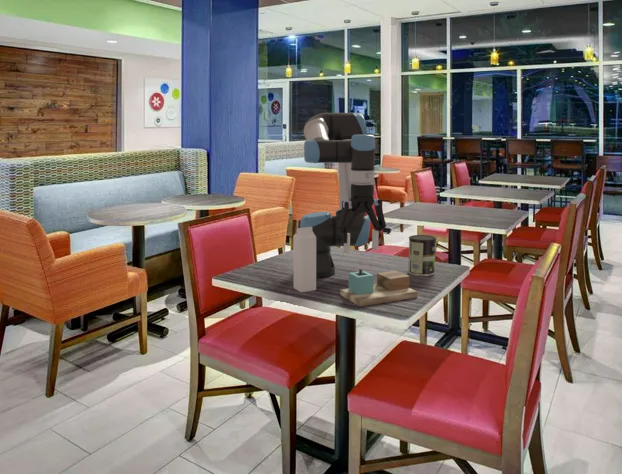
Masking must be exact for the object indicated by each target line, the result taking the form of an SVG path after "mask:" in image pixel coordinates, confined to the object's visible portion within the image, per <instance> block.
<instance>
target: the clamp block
mask: <svg viewBox="0 0 622 474" xmlns="http://www.w3.org/2000/svg"><path fill="white" fill-rule="evenodd" d="M410 278H411V275H407V274H406V273H403V272H400V271H398V270H391V271H384V272H377V273H376V284H377V285H379V286H381V287H383V288H385V289H387V290H397V289H403V288H410V286H411V285H410V284H411V283H410V282H411V281H410V280H411V279H410Z"/></svg>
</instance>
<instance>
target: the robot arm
mask: <svg viewBox="0 0 622 474" xmlns="http://www.w3.org/2000/svg"><path fill="white" fill-rule="evenodd" d="M366 124H367V123H366V120H365V117H364V115H363V114H362V113H359V112H322V113H318V114H315V115H314V116H312V117H310V118H309V119H308V120H307V121H306V122H305V125H304V126H303V136H304V138H305V141H304V143H303V157H304V158H303V159H304V162H305V163H309V164H330V163H331V164H334V163H335V164H337V166H338V168H337V169H338V196H339V197H338V199H339V202H338V203H339V207H338V209H336V211H335V215H332V213H331V212H330V211H317V212H312V213H307V214H304V215H303V216H302V217H301V218H300V225H299V226H300V227H299V228H304V227H312V231H313V233H314V234H315V236H316V278H325V277H329V276H333V275H334V274H336V273H335V272H336V266H335V263H334V260H333V257H332V253H331V252H332V251H331V247H343V252H344V253H346V254H350V253H351V247H361V246H366V244H367V243H368V241H369V237H370V231H371V224H372V226H373V228H374V229H372V231H371V234H372V235H371V239H372V240H371V249H372V250H373V251H379V240H381V231H383V229H385V228H386V227H387V224H386V219H385V215H384V211H383V207H382V204H383V200H382V199H380V198H374V195H375V185H374V184H373V183H374V182H375V161H376V159H375V158H376V157H375V156H376V155H375V154H376V148H377V147H376V146H377V145H376V137H375V136H374V135H373V134H367V125H366ZM373 205H374V209H375V210H374V209H373V207H372V206H373Z"/></svg>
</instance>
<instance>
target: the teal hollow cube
mask: <svg viewBox="0 0 622 474" xmlns="http://www.w3.org/2000/svg"><path fill="white" fill-rule="evenodd" d="M358 273H359V271H355V272H349V273H348V288H349V291H351V292H353V293H355V294H357V295H362V294H368V293H373V288H374V285H375V284H374V283H375V282H374V281H375V279H374V278H375V275H374V274H372V273H370V272H368V271H366V270H362V273H363V275H362V276H359V275H358Z"/></svg>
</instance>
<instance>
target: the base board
mask: <svg viewBox="0 0 622 474" xmlns="http://www.w3.org/2000/svg"><path fill="white" fill-rule="evenodd" d="M362 271H363V269H362V268H359V269H358V272H359V273H358V275H359V276H362V275H363V273H362ZM340 296H341V297H343V298H345V299H347V300H348V301H350V302H352V303H354V304H355V305H356V306H359V307H364V306H365V307H367V306H371V305H372V306H373V305H377V304H383V303H389V302H390V303H391V302H395V301H401V300H408V299H413V298H418V290H415V289H412V288H410V287H409V288H403V289H397V290H387V289H385V288H383V287H381V286H379V285H377V283H375V284H374V288H373V293H368V294H362V295H357V294H355V293H353V292H351V291H349V287H348V288H343V289H340Z"/></svg>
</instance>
